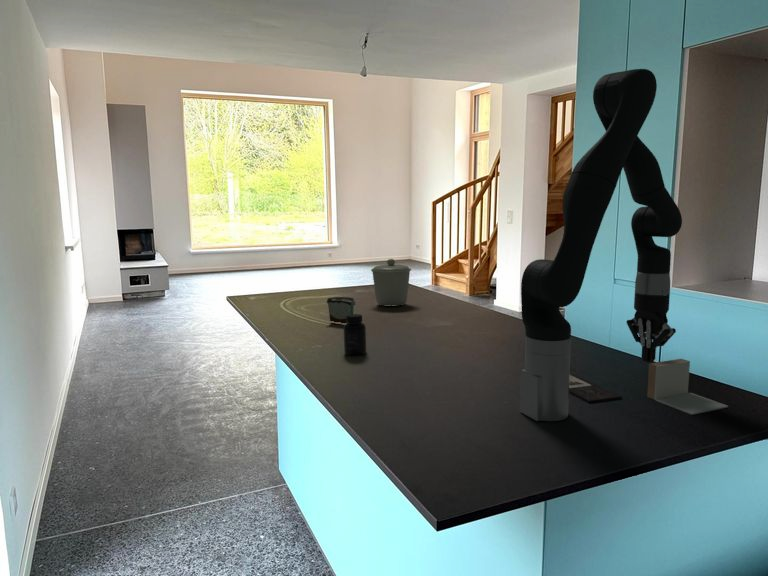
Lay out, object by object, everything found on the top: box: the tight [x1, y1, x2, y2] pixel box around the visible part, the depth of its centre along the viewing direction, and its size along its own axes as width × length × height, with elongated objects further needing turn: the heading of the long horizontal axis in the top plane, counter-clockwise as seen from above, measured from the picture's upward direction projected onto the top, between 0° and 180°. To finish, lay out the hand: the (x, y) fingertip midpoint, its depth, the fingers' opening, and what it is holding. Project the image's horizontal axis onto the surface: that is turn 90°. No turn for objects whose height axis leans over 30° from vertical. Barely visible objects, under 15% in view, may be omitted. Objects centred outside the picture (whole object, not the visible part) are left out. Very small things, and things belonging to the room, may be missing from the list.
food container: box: [326, 296, 356, 323], centre depth 213 cm, size 12×6×10 cm, turn 58°
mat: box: [655, 392, 729, 416], centre depth 123 cm, size 11×9×1 cm
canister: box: [370, 258, 412, 306], centre depth 249 cm, size 18×18×21 cm
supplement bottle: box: [343, 313, 367, 357], centre depth 169 cm, size 7×7×12 cm
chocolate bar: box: [569, 374, 623, 404], centre depth 135 cm, size 9×1×18 cm
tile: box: [646, 358, 691, 400], centre depth 128 cm, size 10×2×8 cm, turn 111°
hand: (648, 361), depth 134 cm, fingers closed
